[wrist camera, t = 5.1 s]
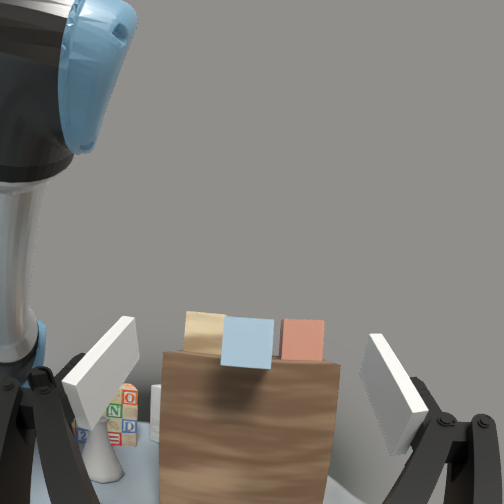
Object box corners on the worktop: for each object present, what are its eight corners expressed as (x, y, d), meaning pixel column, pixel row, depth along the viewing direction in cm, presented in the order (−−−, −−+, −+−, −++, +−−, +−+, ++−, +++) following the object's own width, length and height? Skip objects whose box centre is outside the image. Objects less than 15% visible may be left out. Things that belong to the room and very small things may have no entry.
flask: (98, 459, 36) (97, 407, 39) (132, 475, 34) (131, 420, 37) (68, 469, 29) (64, 411, 32) (102, 488, 27) (98, 427, 30)
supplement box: (197, 443, 54) (200, 389, 58) (175, 450, 48) (178, 392, 52) (171, 433, 58) (173, 382, 61) (148, 439, 51) (150, 384, 55)
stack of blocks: (30, 434, 35) (28, 373, 39) (33, 424, 40) (32, 367, 44) (137, 446, 46) (138, 389, 50) (130, 435, 51) (132, 382, 55)
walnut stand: (315, 534, 22) (340, 364, 28) (160, 521, 23) (163, 352, 29) (301, 487, 36) (315, 357, 42) (185, 478, 37) (191, 348, 43)
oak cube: (223, 355, 35) (226, 314, 37) (183, 350, 35) (186, 311, 37) (227, 353, 40) (230, 317, 41) (191, 349, 40) (194, 314, 42)
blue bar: (270, 368, 23) (274, 319, 24) (220, 365, 23) (224, 316, 24) (269, 354, 44) (271, 328, 45) (242, 353, 44) (244, 326, 45)
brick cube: (322, 360, 35) (324, 320, 36) (281, 359, 35) (284, 318, 36) (314, 358, 40) (316, 322, 41) (278, 356, 40) (281, 320, 41)
